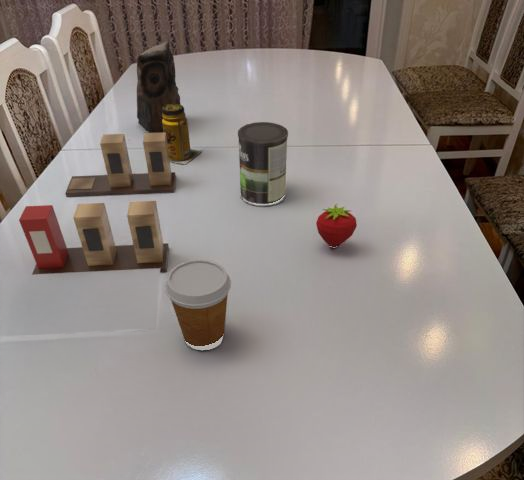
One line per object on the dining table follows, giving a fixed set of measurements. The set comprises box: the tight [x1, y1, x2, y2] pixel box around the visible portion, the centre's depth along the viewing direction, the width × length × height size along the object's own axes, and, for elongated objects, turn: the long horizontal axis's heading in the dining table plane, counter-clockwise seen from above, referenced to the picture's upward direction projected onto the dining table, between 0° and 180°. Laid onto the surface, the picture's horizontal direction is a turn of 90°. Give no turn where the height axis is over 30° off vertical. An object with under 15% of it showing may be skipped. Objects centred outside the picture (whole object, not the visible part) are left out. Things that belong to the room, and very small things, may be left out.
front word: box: [31, 200, 170, 275], centre depth 90 cm, size 24×8×11 cm, turn 94°
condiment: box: [162, 103, 203, 165], centre depth 121 cm, size 7×8×12 cm
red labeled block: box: [18, 204, 68, 268], centre depth 89 cm, size 5×5×10 cm
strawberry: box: [315, 203, 358, 247], centre depth 93 cm, size 6×8×10 cm
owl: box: [136, 40, 182, 133], centre depth 131 cm, size 13×13×20 cm
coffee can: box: [237, 121, 289, 207], centre depth 106 cm, size 10×10×14 cm
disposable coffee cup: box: [164, 259, 232, 346], centre depth 75 cm, size 10×10×12 cm
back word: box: [65, 132, 177, 198], centre depth 111 cm, size 24×8×11 cm, turn 94°
